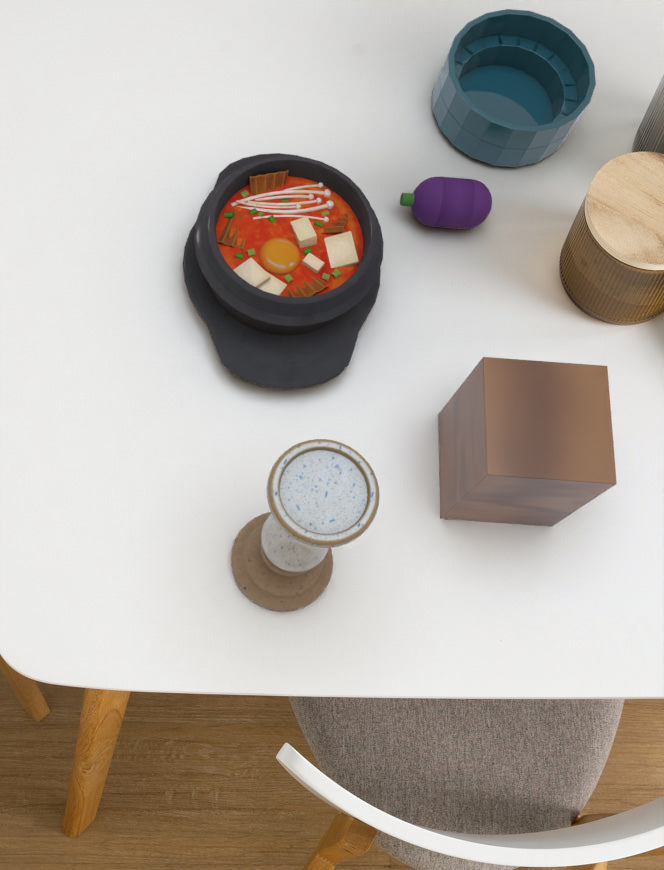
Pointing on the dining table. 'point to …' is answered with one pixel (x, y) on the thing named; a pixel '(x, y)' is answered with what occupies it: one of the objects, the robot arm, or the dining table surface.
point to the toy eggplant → (449, 202)
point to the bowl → (512, 87)
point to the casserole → (284, 268)
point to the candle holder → (304, 523)
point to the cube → (525, 442)
